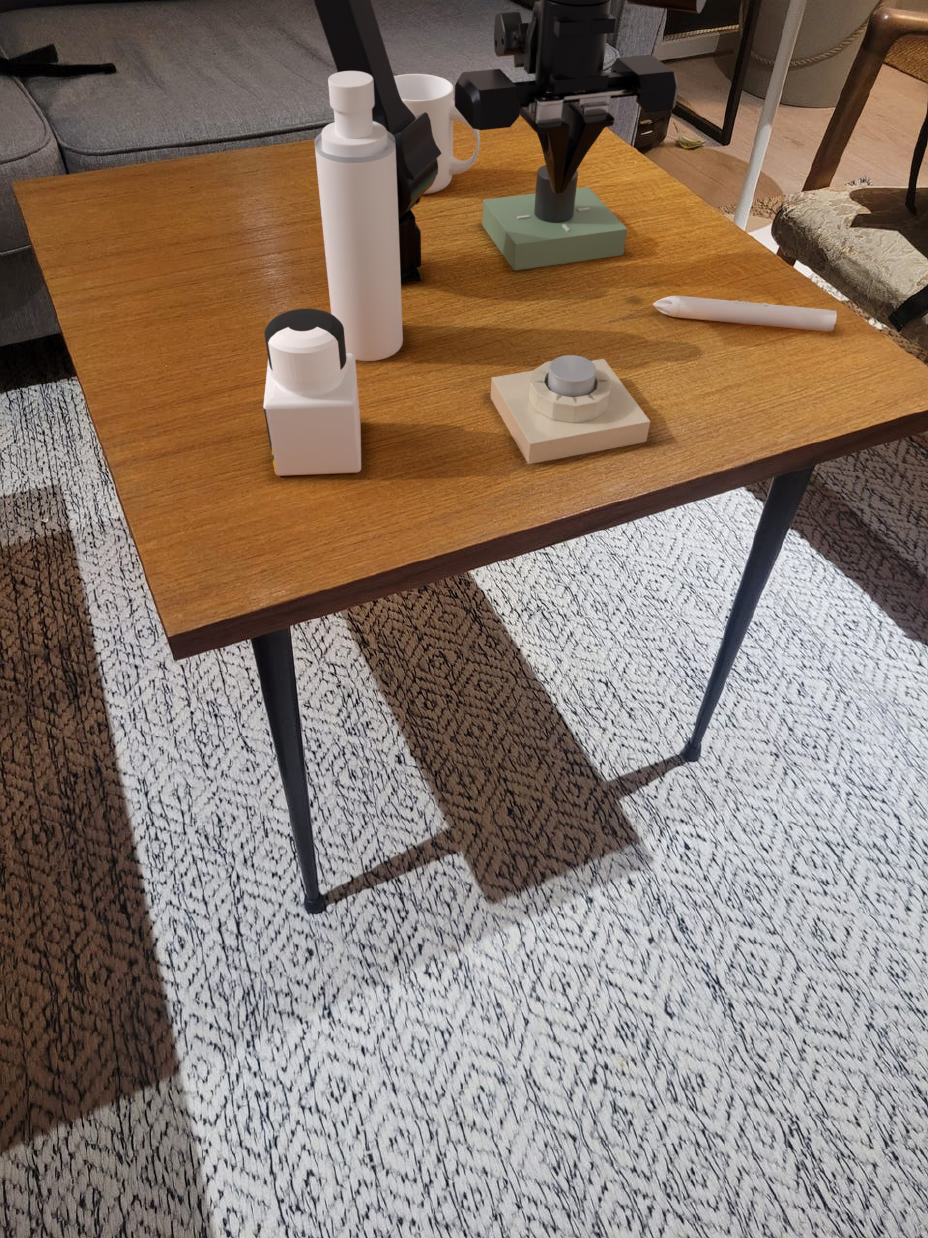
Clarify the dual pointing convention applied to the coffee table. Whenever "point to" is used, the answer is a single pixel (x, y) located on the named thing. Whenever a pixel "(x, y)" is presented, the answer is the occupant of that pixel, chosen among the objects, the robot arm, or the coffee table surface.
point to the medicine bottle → (311, 395)
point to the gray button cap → (571, 376)
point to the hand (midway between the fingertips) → (557, 191)
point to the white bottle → (360, 219)
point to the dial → (554, 199)
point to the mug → (437, 120)
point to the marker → (747, 313)
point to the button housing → (567, 414)
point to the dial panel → (552, 231)
